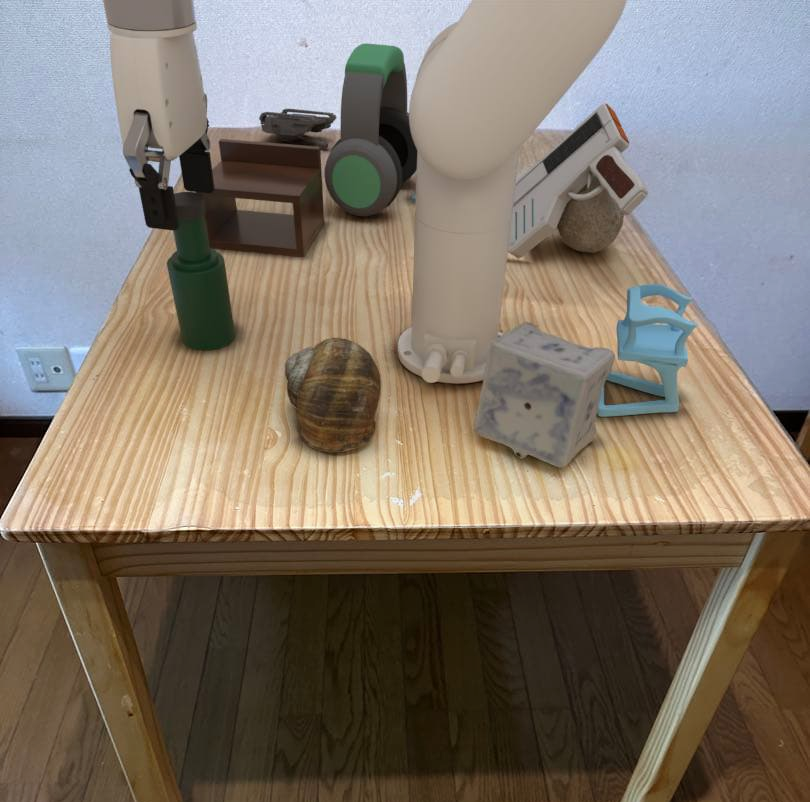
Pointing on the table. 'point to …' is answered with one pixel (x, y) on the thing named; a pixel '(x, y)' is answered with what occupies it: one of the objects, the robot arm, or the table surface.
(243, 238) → the box
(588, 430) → the incense holder
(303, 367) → the seashell
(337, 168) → the headphones
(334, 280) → the table surface
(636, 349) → the chair
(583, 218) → the decorative stone
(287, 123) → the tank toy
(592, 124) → the futuristic handgun
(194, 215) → the bottle
